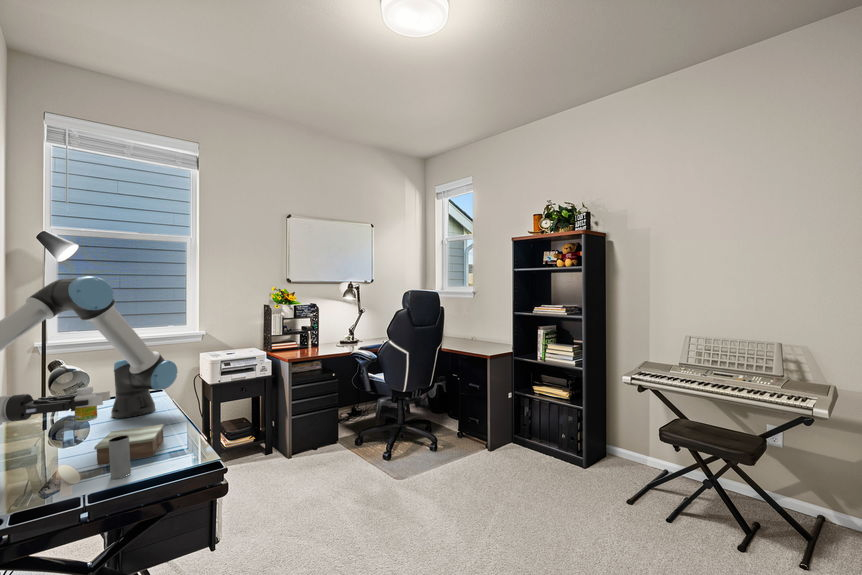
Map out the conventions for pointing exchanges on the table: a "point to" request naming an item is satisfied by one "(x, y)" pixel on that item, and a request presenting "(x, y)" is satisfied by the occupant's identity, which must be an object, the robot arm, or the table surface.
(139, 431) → the podium
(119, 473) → the grey hollow cylinder
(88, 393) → the supplement bottle
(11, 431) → the table surface
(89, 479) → the table surface
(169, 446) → the table surface
